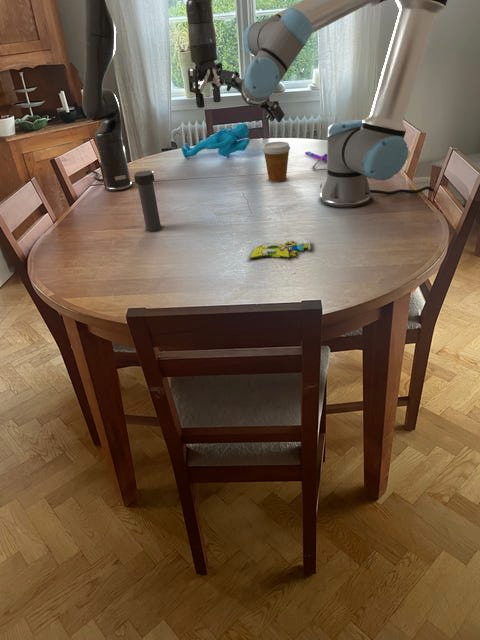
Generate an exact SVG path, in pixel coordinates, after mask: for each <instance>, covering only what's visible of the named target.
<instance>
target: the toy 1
mask: <svg viewBox="0 0 480 640" xmlns="http://www.w3.org/2000/svg"><path fill="white" fill-rule="evenodd" d="M248 135H250V129H249V126H248V124H246V123H239V124H236V125H235V126H234V127H233V128H221V129H220V130H219V131H217V132H215V133H214V134H212V135H209V137H206V138H204V139H201V140H200V141H199V142H197V143H196V144H195V145H194V146H193V147H190V145H189V143H187V142H186V143H184V146H183V145H182V146H181V147H180V149H181V153H182V155H183V157H184V158H185V159H187V158H190V157H194V156H196V155H198V153H200V152H201V151H203V150H206V151H208V150H217V154H218V155H220V156H223V157H228V156H229V155H230V154H232V153H233V154H234V153H236V152H239V151H240V152H241V151H242V152H243V151H246V149H247V148H248V146H249V144H250V142H251V138H249V137H248Z"/></svg>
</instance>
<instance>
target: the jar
mask: <svg viewBox="0 0 480 640" xmlns="http://www.w3.org/2000/svg"><path fill="white" fill-rule="evenodd" d="M137 188H138V193H139V194H138V195H139V199H140V203H141V204H140V205H141V208H142V214H143V220H144V225H145V229H146V231H147V232H150V233H153V232H158V231H160V230H161V229H162V224H161V221H160V219H161V218H160V213H159V208H158V203H157V202H158V201H157V197H156V191H155V186H154V181H153V182H152V183H148V184H137Z"/></svg>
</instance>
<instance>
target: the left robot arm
mask: <svg viewBox="0 0 480 640" xmlns="http://www.w3.org/2000/svg"><path fill="white" fill-rule="evenodd" d="M185 7H186V8H185V9H186V18H187V34H188V35H187V36H188V43H189V52H190V60H191V63H194V67H192V68H191V67H190V68H188V69H187V76H188V90H189V92H190V93H193V94H194V95H195V102H196V103H195V104H196V107H197V108H198V109H203V108H205V107H206V105H205V96H204V89H205V87H206V86H207V84H210V86H211V87H212V100H213V103H220V102H221V101H222V98H221V97H222V96H221V88H222V86H224V85H225V83H224V82H225V81H221V80H219V76H220V75H221V73H222V71H223V70H224V69H223V63H222V62H216V61H218V58H219V56H218V47H217V37H216V36H217V33H216V28H215V23H214V11H213V0H186V3H185ZM116 33H117V31H116V24H115V21H114V18H113V16H112V13H111V10H110V7H109V5H108V2H107V0H84V75H83V86H82V94H81V95H82V96H81V106H82V111H83V113H84V115H85V117H86V118H87V119H88V120H89V121H90V122H100V121H101V122H100V125H99V127H98V128H97V130H96V131H95V132H94V139H95V143H96V147H97V153H98V156H99V160H100V162H99V163H98V164H99V168H100V173H101V177H102V178H98V177H99V176H100V173H99V172H98V171H96V170H93V169H88V170H86V171H85V175H88V174H89V173H93V174H95V175H94V176H93V180H95V181H98V182H103V185H104V189H106V190H107V191H111V192H120V191H124V190H127V189H130V188H132V187H133V184H132V179H131V175H130V170H129V169H130V168H129V165H128V160H127V155H126V149H125V144H124V141H123V134H122V133H123V124H122V117H121V116H122V115H121V110H120V105H119V101H118V99H117V97H116V96H117V95H116V94H115V93H114V91H112V90H111V89H109V88H103V86H104V80H105V76H106V74H107V72H108V69H109V67H110V65H111V63H112V61H113V59H114V55H115V51H116Z"/></svg>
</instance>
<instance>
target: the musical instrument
mask: <svg viewBox="0 0 480 640" xmlns="http://www.w3.org/2000/svg"><path fill="white" fill-rule="evenodd" d="M304 154H305V155H307V156H309V157H312V158H315V159H318V160H317V161H316V162H315V163H314V164H313V165H312V170H314V171H327V168H316V165H318V163H320V162H321V161H324V162H326V163H327V153H325V154H323V155H319V154H315V153H314V152H311V151H304Z"/></svg>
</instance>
